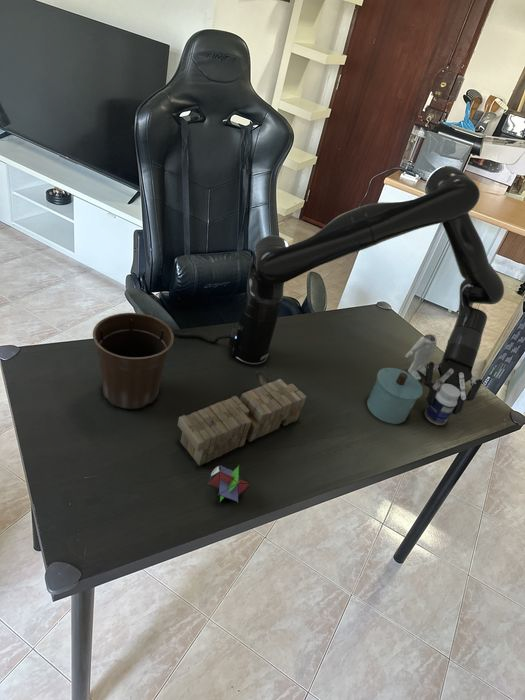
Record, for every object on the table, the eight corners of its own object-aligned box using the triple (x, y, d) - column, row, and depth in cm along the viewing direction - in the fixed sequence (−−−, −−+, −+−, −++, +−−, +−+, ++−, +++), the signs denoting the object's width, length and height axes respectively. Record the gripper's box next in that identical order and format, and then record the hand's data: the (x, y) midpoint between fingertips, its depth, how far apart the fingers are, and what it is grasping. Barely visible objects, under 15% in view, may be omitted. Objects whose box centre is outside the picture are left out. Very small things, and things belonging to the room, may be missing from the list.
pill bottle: (421, 409, 128) (436, 380, 122) (440, 411, 129) (457, 383, 123) (428, 424, 123) (445, 396, 117) (448, 427, 124) (466, 398, 118)
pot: (368, 420, 120) (384, 385, 113) (362, 390, 129) (377, 356, 122) (412, 429, 120) (431, 395, 114) (404, 398, 130) (421, 365, 123)
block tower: (276, 402, 118) (172, 443, 100) (285, 376, 114) (178, 413, 96) (297, 423, 114) (193, 469, 96) (307, 397, 109) (199, 440, 91)
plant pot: (89, 416, 101) (89, 356, 92) (94, 367, 114) (95, 309, 105) (167, 417, 106) (175, 360, 97) (164, 369, 118) (171, 314, 109)
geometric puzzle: (255, 476, 95) (237, 451, 91) (255, 505, 90) (236, 480, 86) (223, 486, 97) (203, 462, 93) (221, 516, 92) (200, 491, 87)
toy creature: (411, 384, 136) (428, 350, 129) (395, 371, 139) (411, 337, 133) (436, 374, 143) (454, 341, 136) (420, 361, 146) (437, 329, 139)
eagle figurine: (287, 390, 120) (255, 372, 120) (293, 383, 113) (259, 364, 114) (273, 417, 118) (240, 399, 118) (278, 411, 111) (244, 392, 111)
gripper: (439, 334, 122) (418, 397, 119) (496, 354, 120) (476, 418, 117) (431, 341, 129) (411, 400, 126) (484, 360, 127) (465, 420, 124)
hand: (442, 409), depth 122 cm, fingers closed on pill bottle, 5 cm apart
